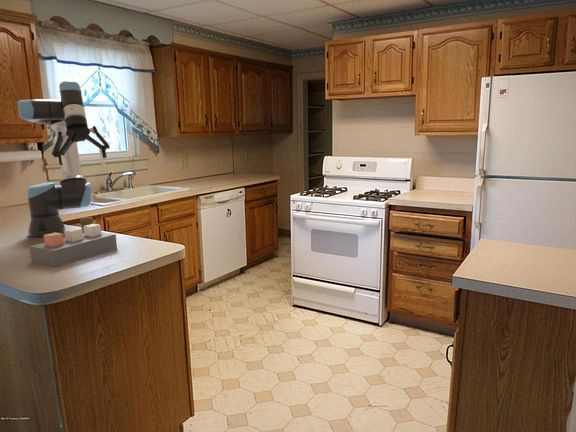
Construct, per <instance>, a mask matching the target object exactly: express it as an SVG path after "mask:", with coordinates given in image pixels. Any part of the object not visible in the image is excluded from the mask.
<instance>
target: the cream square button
mask: <svg viewBox="0 0 576 432" xmlns="http://www.w3.org/2000/svg"><path fill="white" fill-rule="evenodd" d="M83 228H84V236H88V237H94V236H98V235H102V234H101V232H102V226H101V224H97V223H93V224H90V225H86V226H83Z"/></svg>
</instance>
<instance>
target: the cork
mask: <svg viewBox="0 0 576 432" xmlns="http://www.w3.org/2000/svg"><path fill="white" fill-rule="evenodd" d="M79 224H80V226H81V229H82V231H83V233H84V228H83V226H86V225H90V224H94V218H93V217H91V216H83V217H81V218H80V219H79Z"/></svg>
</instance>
